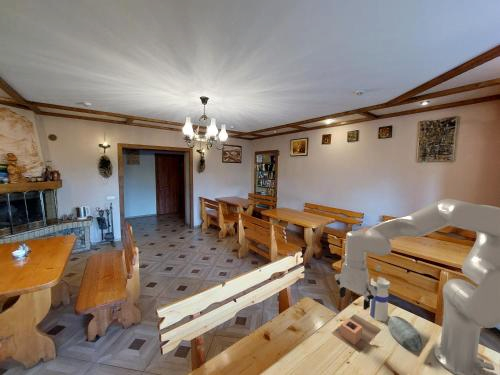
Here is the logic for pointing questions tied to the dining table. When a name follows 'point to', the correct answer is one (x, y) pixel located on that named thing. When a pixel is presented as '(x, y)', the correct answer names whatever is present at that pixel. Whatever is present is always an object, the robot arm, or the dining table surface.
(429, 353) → the dining table surface
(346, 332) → the orange hollow square block
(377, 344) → the dining table surface
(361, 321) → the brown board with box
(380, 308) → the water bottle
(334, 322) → the dining table surface
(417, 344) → the grey streaked oval part
